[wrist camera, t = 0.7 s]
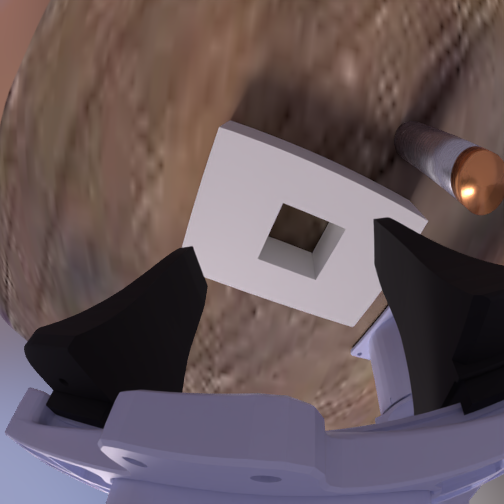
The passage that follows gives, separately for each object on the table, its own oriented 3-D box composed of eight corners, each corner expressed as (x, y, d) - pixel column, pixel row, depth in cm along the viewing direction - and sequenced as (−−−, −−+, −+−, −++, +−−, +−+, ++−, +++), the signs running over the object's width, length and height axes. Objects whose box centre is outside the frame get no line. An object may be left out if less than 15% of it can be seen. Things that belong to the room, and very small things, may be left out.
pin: (437, 134, 17) (516, 173, 9) (420, 169, 18) (488, 225, 11) (405, 113, 16) (480, 138, 9) (387, 149, 18) (450, 196, 10)
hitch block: (409, 200, 20) (428, 221, 17) (346, 298, 25) (353, 327, 22) (230, 120, 18) (219, 126, 15) (190, 242, 23) (176, 266, 20)
